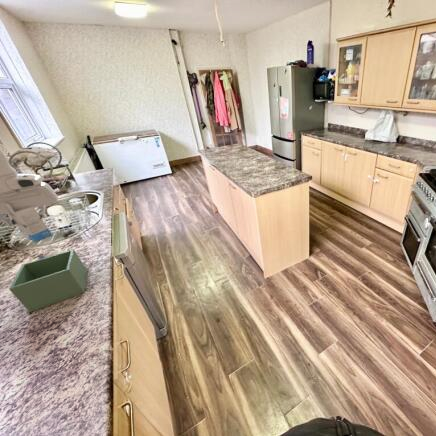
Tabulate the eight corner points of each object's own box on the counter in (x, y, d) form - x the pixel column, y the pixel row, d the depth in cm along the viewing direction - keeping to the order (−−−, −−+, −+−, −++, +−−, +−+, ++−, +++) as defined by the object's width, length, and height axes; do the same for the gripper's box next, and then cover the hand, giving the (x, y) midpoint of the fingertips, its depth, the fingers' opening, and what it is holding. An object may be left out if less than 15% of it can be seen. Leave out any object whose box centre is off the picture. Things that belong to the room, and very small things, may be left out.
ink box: (53, 235, 84) (28, 198, 77) (36, 242, 80) (8, 204, 73) (41, 231, 87) (17, 194, 80) (24, 237, 83) (-3, 200, 76)
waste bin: (29, 312, 78) (8, 289, 72) (39, 286, 88) (22, 264, 83) (84, 292, 85) (68, 269, 79) (87, 270, 95) (73, 249, 90)
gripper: (-53, 195, 66) (-19, 236, 73) (42, 178, 76) (64, 215, 83) (-43, 189, 71) (-12, 227, 78) (46, 174, 81) (67, 209, 88)
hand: (28, 221), depth 80 cm, fingers closed on ink box, 7 cm apart
